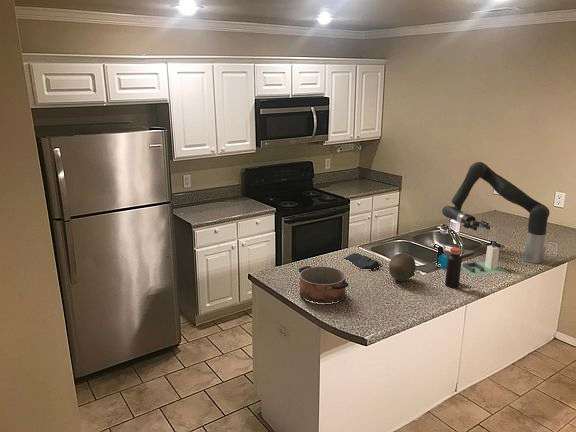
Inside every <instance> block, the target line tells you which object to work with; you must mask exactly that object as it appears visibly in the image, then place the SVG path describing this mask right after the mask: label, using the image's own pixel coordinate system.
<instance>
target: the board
mask: <svg viewBox="0 0 576 432" xmlns="http://www.w3.org/2000/svg"><path fill="white" fill-rule="evenodd" d="M476 263H477V264H479V265H481V266H482V267H484V271H480V270H479V269H478V268H476V267H475V266H471V267H472V268H475V272H470V271H469V270H467V269H466V268H464V267H463V263H461V270H463V271H464V272H466V273H468V274H469V275H470V276H479V275H489V274H499V273H508V270H506V269H504V268H503V267H501V266H499V265H497V269H495V270H493V269H489V268H488V267H486V266H485V261H481V262H480V261H479V262H476Z"/></svg>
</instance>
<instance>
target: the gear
mask: <svg viewBox="0 0 576 432" xmlns="http://www.w3.org/2000/svg"><path fill="white" fill-rule="evenodd" d="M448 257H449V255H445V254H441V255H439V256H438V258H437V261H438V262H437V264H439V268H442V270H445V271H446V270H447V260H448Z"/></svg>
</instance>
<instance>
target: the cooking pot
mask: <svg viewBox="0 0 576 432" xmlns="http://www.w3.org/2000/svg"><path fill="white" fill-rule="evenodd" d="M298 273H299V295H301V296H302V297H303V298H305V299H307V300H309V301H313V302H318V303H332V302H337V301H340V300H341V301H343V300H344V299H343V298H345V297H346V288H347V287H349V283H348V282H347V281H346V280H347V276H346V274H345V271H342V270H341V269H339V268H336V267H330V266H323V265H322V266H320V265H319V266H311V265H306V266H302V267H300V268H299V269H298ZM301 296H300V297H301ZM342 299H343V300H342ZM341 301H340V302H341Z"/></svg>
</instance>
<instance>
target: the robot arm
mask: <svg viewBox="0 0 576 432" xmlns="http://www.w3.org/2000/svg"><path fill="white" fill-rule="evenodd" d="M479 179H482V180H483V181H484V182H486V183H487V184H489V185H490V186H491V187H492V189H493V190H494V191H495V192H496V194H498V195H499V196H500V197H502V198H503V199H505V200H506V201H508V202H510V203H512V204H513V205H514V204H515V205H517V206H519V207H521V208H523V209H524V210H526V211H527V212H528V213H529V215H528V224H527V235H526V240H525V241H526V243H525V248H524V253H523V254H524V256H523V260H524V261H525V262H527V263H530V264H541V263H542V262H544V258H545V251H546V246H545V241H546V235H547V225H548V219H549V217H550V209H549V208H548V207H547V205H545V204H543V203H541V202H539V201H537V200H535V198H532V197H531V196H530V195H528V194H527V193H526V192H524V191H523V190H522V189H520V188H519V187H517V186H516V185H514V184H513V183H512V182H510V181H509V180H507V179H506V178H504V177H503V176H501V175H499V174H497V173H496V172H495V171H494V170H492V169H491V168H490V167H489V166H488V165H487V164H486V163H484V162H483V161H477V162H474V163H472V164H471V165H470V166H469V168H468V170H467V172H466V175H465V178H464V180H463V182H462V183H461V184H460V186H459V188H458V190H457V191H456V192H455V194H454V195H453V198H452V199H451V203H452V204H453V205H454V206H450V205H445V206H444V207H443V208H442V212H441V213H442V215H443V216H444V217H446V218H448V219H451V220H453V221H455V222H457V223H459V224H460V225H461V226H462V227H464V228H466V229H467V230H468V229H470V230H473V231H476V232H477V230H478V228H479V229H481V228H484V229H486V230H488V231H489V230H491V226H490V225H489V223H488V222H487V221H484V220H477V218H476V216H473V215H472V214H469V213H468V212H464V211H463V210H462V207H463V205H464V203H465V202H466V200H467V198H468V196H469V195H470V192H471V190H472V188H473V187H474V185H475V184H476V183H477V181H478V180H479Z"/></svg>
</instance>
